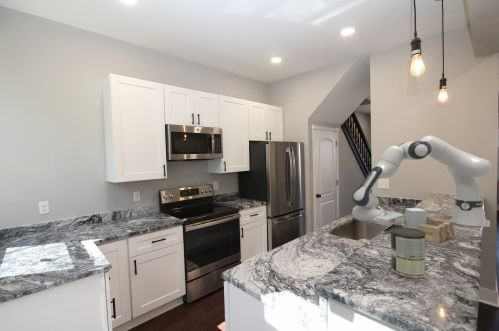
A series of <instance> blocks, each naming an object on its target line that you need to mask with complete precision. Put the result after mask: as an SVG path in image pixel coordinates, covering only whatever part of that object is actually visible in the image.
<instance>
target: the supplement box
mask: <svg viewBox="0 0 499 331" xmlns="http://www.w3.org/2000/svg"><path fill="white" fill-rule="evenodd" d="M404 211H405V212H404V219H405V220H406V223H405V228H412V229H417V230H418V225H420V224H425V225H427V210H425V209H422V208H421V207H420V208H418V207H417V208H415V207H414V208H413V207H412V208H411V207H410V208H409V207H408V208H407V207H406V208H405V210H404Z"/></svg>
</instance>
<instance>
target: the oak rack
mask: <svg viewBox="0 0 499 331" xmlns="http://www.w3.org/2000/svg"><path fill="white" fill-rule="evenodd" d="M454 225H455V223H454V221H449V220H448V219H447V220H446V219H439V218H434V219H431V225H430V224H426V225H425V224H420V225H418V230H421V231H423V232H425V233H426V236H425V242H427V243H433V244H437V245H439V244H441V243H443V242H444V241H446V240H448V239H450V238H452V237H453V236H454V235H455V233H454V232H455V231H454ZM442 241H443V242H442Z"/></svg>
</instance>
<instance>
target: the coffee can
mask: <svg viewBox="0 0 499 331" xmlns="http://www.w3.org/2000/svg"><path fill="white" fill-rule="evenodd" d="M425 236H426V233H425V232H423V231H421V230H417V229H412V228H406V227H392V228H390V247H391V248H390V255H391V263H390V264H391V267H390V269H391V271H392V272H393V273H395V274H397V275H399V276H402V277H404V278H405V277H406V278H411V279H423V278H425V277H426V276H427V273H426V241H425Z"/></svg>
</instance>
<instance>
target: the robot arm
mask: <svg viewBox="0 0 499 331" xmlns="http://www.w3.org/2000/svg"><path fill="white" fill-rule="evenodd" d="M428 156H429V157H431V158H432V159H434V160H435V161H438V162H439V163H441V164H443V165H444V166H446V169H447V171H448V172H449V173H450V174H451V176H452V178H453V181H454V184H455V200H454V204H455V206H453V207H452V210H451V218H449V219H448V221H454V224H456V225H460V226H467V227H479V228H480V227H482V228H483V227H487V228H488V227H489V228H491V221H490V220H489V219H488V218H487V217H486V211H485V210H484V208H483V201H482V187H481V185H479V184H478V183H477V181H476V178H481V177H486V176H488V175H490V174H491V172H492V171H493V164H492V163H491V161H490V160H488V159H486V158H483V157H479V156H476V155H474V154H472V153H469V152H467V151H464V150H462V149H459V148H457V147H455V146H453V145H452V144H450V143H448V142H446V141H445V140H443V139H441V138H438V137H436V136H434V135H431V134H430V135H425V136H423V137H422V138H421V139H420V140H416V141H415V140H413V141H405V142H402V143H401V144H399V145H391V146H390V145H389V146H388V147H387V148H386V150H385V151H384V152H383V154H382V155H381V157H380V159H379V160H378V162H377V164H376V165H375V166H374V167H372V169H371V170H370V171H369V172H368V173H367V175H366V177H365V179H364V180H363V181H362V183H361V184H360V186H358V188H357V189H356V190H354V192H353V193H352V195H351V199H352V200H351V201H352V202H353V204H355V206H354V207H353V208H352V210H351V211H352V212H351V213H352V216H353V218H354V219H355V220H357V221H360V222H363V223H371V224H373V225H378V226H388V227H389V226H391V225H393V224H406V220H405V214H403V213H401V212H396V211H390V210H389V209H378V207H379V204H380V200H379V198H378V196H377V195H375V194H374V193H371V191H372V189H374V187H375V185H376V184H377V182H378V181H379V180H380V179H384V178H390V177H393V176H394V175H395V174H396V172H397V171H398V169H399V167H400V165H401V163H402V162H403V161H405V160H410V161H411V160H417V161H418V160H422V159H424V158H427V157H428Z"/></svg>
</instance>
